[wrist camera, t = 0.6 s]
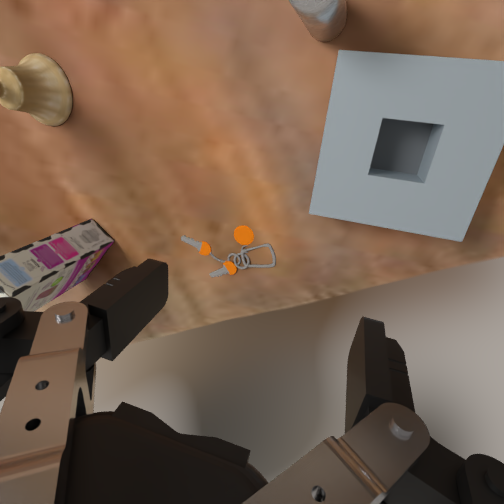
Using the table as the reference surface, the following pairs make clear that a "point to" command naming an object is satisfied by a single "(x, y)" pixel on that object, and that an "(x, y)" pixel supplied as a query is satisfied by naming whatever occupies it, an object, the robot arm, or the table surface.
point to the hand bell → (37, 89)
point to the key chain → (241, 236)
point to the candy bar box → (52, 264)
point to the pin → (322, 17)
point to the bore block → (409, 141)
